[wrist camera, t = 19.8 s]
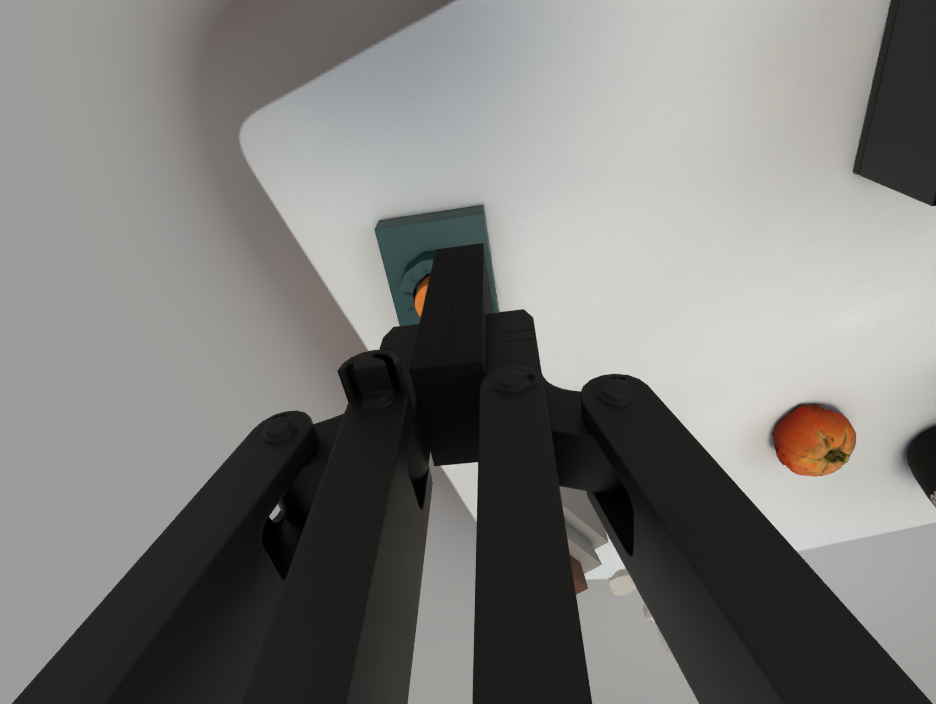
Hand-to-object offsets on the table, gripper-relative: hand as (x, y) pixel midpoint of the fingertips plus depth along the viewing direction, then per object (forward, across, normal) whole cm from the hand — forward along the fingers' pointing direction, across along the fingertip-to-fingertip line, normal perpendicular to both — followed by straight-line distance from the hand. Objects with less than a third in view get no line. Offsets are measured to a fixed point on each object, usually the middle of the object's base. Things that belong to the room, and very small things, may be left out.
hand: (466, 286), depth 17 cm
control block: (+28, -5, -12) cm, 31 cm away
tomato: (+29, +30, -35) cm, 54 cm away
